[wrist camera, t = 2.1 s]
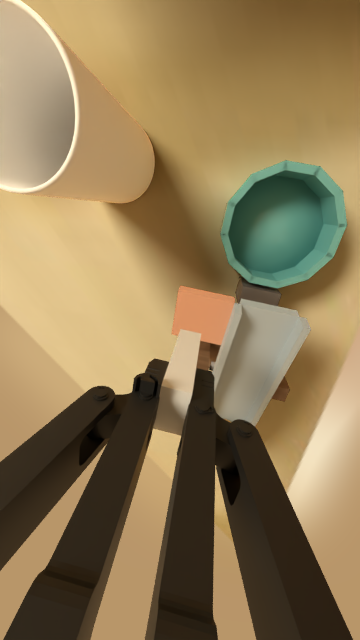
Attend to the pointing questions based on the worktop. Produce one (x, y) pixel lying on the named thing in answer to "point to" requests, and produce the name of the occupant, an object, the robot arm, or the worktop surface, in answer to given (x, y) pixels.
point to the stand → (243, 291)
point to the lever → (242, 347)
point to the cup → (62, 120)
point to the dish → (283, 224)
